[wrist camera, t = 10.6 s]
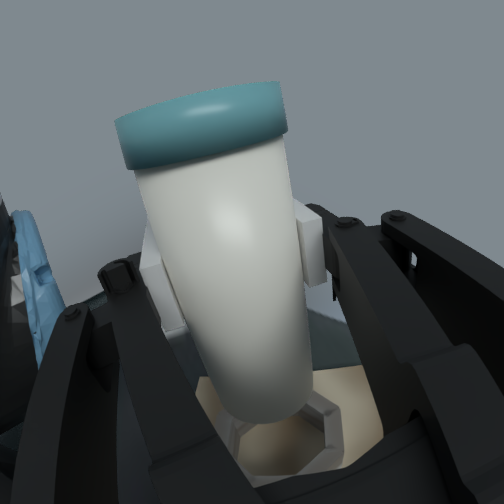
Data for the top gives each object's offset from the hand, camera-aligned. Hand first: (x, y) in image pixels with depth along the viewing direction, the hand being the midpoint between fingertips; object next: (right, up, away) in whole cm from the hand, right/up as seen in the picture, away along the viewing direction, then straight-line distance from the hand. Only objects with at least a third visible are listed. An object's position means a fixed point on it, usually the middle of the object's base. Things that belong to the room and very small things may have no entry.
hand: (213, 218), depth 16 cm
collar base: (+5, -18, +4) cm, 19 cm away
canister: (+3, -9, -1) cm, 9 cm away
